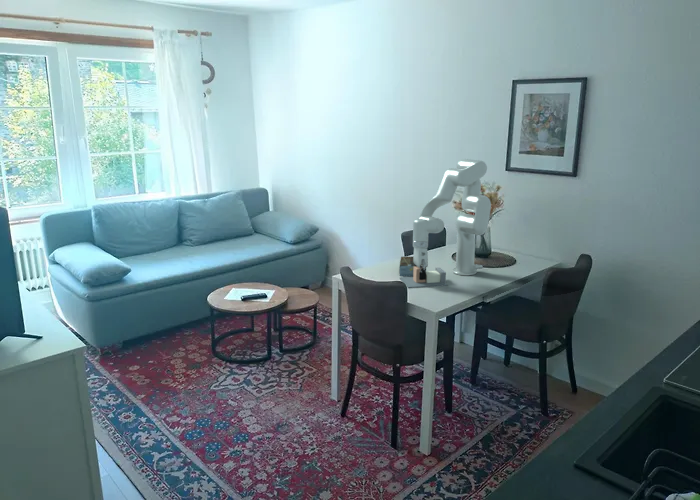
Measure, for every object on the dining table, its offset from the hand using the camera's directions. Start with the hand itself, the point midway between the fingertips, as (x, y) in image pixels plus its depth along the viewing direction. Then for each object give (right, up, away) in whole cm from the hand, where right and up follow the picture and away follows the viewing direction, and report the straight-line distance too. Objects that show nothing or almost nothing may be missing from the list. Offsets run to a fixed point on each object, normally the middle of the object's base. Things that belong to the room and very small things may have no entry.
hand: (419, 276), depth 269 cm
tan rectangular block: (0, -3, +1) cm, 3 cm away
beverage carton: (-4, +1, +20) cm, 20 cm away
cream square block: (+7, -2, +2) cm, 8 cm away
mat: (+2, -3, +1) cm, 3 cm away
